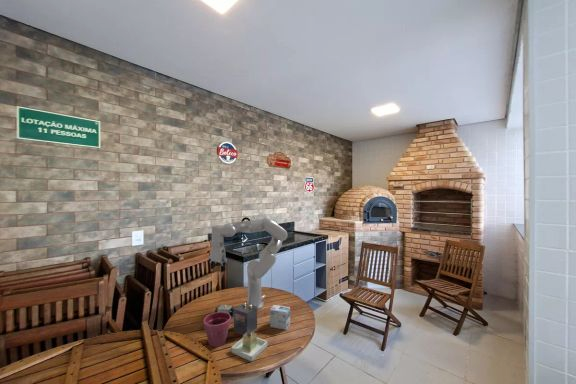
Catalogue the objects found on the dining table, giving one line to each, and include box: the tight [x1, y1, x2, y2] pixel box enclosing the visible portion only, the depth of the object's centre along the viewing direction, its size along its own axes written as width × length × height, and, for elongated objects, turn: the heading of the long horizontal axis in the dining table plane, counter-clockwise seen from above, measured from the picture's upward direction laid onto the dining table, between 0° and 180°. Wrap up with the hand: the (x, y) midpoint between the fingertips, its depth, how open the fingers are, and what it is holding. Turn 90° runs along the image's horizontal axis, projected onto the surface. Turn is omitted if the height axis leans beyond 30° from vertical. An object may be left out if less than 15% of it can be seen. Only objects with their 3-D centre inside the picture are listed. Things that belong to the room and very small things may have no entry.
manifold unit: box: [233, 301, 258, 336], centre depth 142 cm, size 9×10×15 cm
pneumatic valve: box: [214, 304, 235, 320], centre depth 148 cm, size 6×12×12 cm, turn 78°
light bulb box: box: [269, 304, 291, 331], centre depth 147 cm, size 11×7×11 cm, turn 71°
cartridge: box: [242, 331, 257, 352], centre depth 125 cm, size 5×5×8 cm
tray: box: [230, 337, 269, 363], centre depth 125 cm, size 13×13×2 cm
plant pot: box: [203, 312, 232, 348], centre depth 131 cm, size 14×14×13 cm
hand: (217, 270), depth 162 cm, fingers open, 9 cm apart
